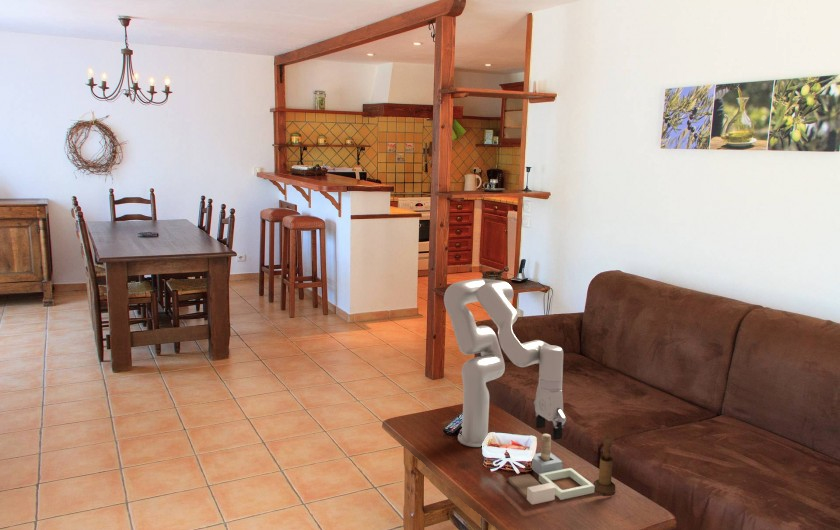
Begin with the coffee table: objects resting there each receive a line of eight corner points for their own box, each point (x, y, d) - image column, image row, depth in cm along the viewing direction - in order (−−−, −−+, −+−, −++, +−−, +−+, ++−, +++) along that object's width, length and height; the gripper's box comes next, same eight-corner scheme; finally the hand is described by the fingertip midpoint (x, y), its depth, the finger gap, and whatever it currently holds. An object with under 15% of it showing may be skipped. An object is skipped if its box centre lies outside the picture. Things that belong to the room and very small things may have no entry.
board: (507, 484, 206) (507, 477, 205) (529, 480, 209) (529, 473, 208) (526, 503, 195) (526, 496, 194) (548, 499, 198) (549, 491, 197)
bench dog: (526, 502, 194) (527, 487, 194) (548, 497, 197) (549, 482, 197) (531, 507, 192) (532, 492, 191) (554, 502, 195) (555, 487, 194)
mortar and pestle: (599, 497, 199) (603, 443, 196) (589, 486, 205) (593, 434, 202) (618, 495, 200) (623, 441, 197) (608, 485, 206) (612, 432, 203)
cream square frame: (538, 483, 206) (539, 474, 206) (570, 477, 211) (571, 467, 210) (560, 502, 195) (561, 492, 194) (594, 495, 199) (594, 485, 199)
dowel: (538, 468, 214) (540, 434, 212) (546, 466, 215) (547, 433, 213) (543, 472, 212) (545, 438, 210) (551, 470, 213) (552, 436, 211)
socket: (528, 468, 216) (528, 454, 215) (548, 464, 219) (549, 451, 218) (541, 479, 209) (542, 465, 208) (561, 475, 212) (562, 461, 211)
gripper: (526, 376, 215) (525, 425, 217) (555, 393, 199) (554, 445, 202) (545, 374, 218) (543, 422, 220) (575, 390, 202) (573, 441, 204)
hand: (548, 433), depth 211 cm, fingers open, 9 cm apart
